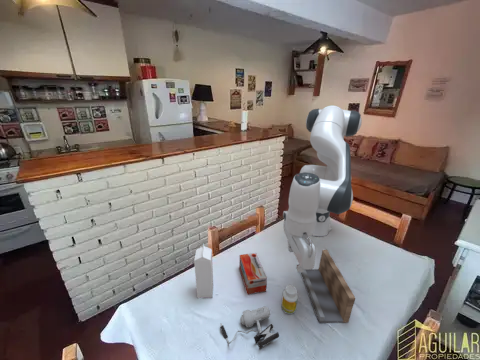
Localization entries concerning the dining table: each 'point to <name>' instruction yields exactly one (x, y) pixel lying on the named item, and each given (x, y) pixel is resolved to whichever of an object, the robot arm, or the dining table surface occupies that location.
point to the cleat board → (328, 291)
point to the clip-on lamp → (256, 316)
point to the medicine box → (252, 273)
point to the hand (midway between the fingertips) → (295, 260)
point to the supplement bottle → (289, 299)
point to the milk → (204, 272)
